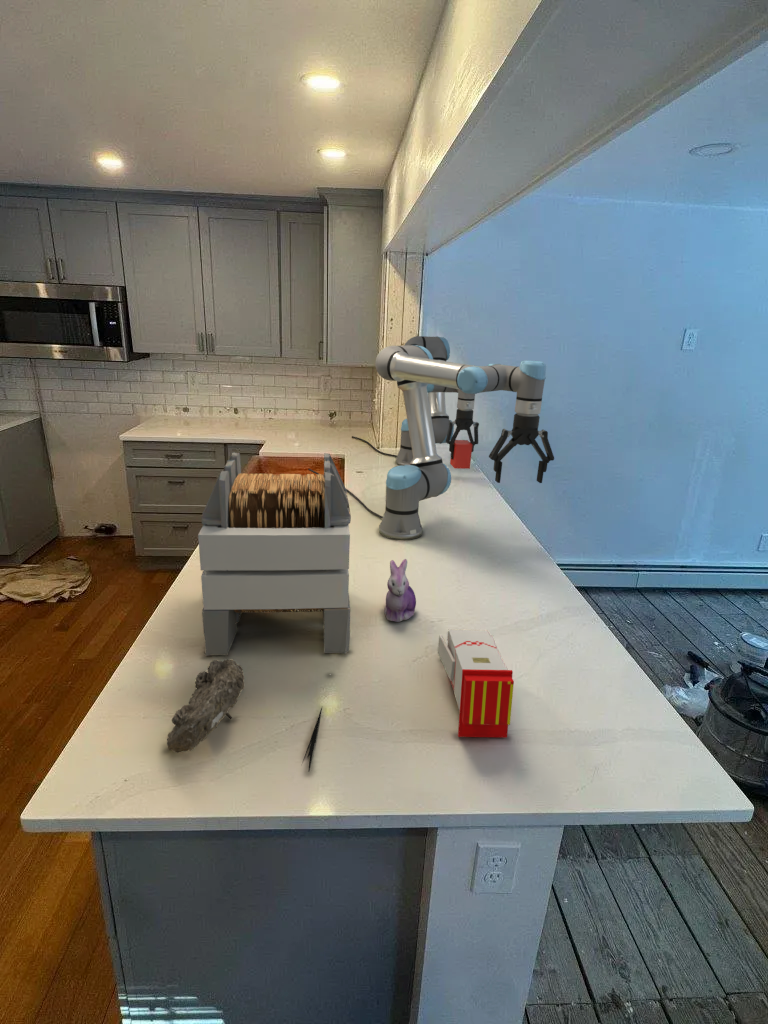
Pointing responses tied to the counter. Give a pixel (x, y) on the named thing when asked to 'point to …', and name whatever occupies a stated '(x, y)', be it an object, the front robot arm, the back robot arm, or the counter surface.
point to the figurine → (399, 594)
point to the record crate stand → (275, 551)
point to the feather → (313, 740)
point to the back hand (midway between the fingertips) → (460, 458)
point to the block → (461, 454)
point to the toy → (478, 682)
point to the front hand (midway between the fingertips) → (518, 481)
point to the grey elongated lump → (206, 705)
